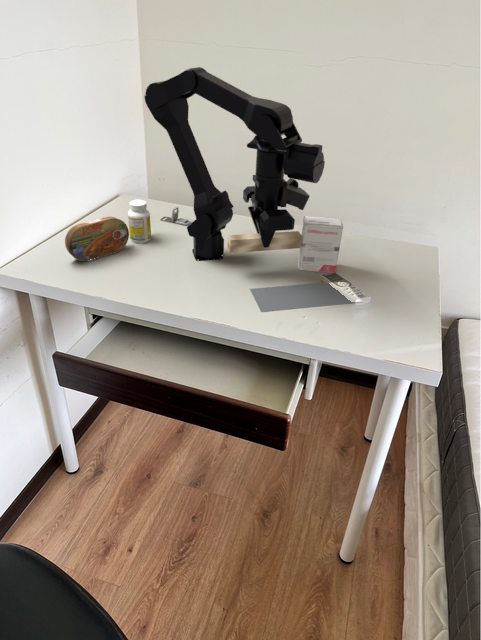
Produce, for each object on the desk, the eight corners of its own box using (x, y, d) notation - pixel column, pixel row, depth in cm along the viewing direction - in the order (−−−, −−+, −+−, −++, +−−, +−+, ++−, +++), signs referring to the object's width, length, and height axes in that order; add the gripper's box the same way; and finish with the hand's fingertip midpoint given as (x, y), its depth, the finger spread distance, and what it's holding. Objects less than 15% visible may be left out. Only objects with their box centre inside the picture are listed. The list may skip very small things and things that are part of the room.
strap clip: (191, 223, 128) (191, 208, 126) (186, 227, 126) (186, 212, 123) (164, 217, 131) (164, 203, 128) (159, 221, 128) (158, 206, 126)
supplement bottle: (137, 245, 115) (134, 208, 109) (125, 238, 118) (122, 201, 113) (155, 239, 118) (153, 203, 113) (143, 232, 121) (141, 197, 116)
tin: (72, 265, 105) (66, 231, 100) (66, 260, 107) (60, 226, 102) (131, 248, 114) (127, 215, 109) (124, 243, 115) (121, 211, 111)
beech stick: (230, 253, 100) (230, 240, 98) (227, 247, 102) (228, 235, 100) (300, 248, 103) (302, 235, 101) (296, 243, 105) (298, 231, 103)
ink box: (333, 265, 111) (342, 217, 104) (335, 275, 107) (344, 226, 100) (297, 261, 111) (303, 214, 104) (297, 272, 107) (303, 223, 100)
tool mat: (260, 314, 92) (261, 312, 92) (249, 291, 99) (249, 288, 99) (362, 304, 97) (363, 301, 96) (344, 282, 104) (345, 280, 103)
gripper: (324, 187, 87) (313, 261, 96) (293, 159, 102) (286, 225, 111) (267, 189, 85) (262, 265, 94) (244, 160, 100) (241, 228, 109)
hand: (264, 244), depth 102 cm, fingers closed on beech stick, 2 cm apart
